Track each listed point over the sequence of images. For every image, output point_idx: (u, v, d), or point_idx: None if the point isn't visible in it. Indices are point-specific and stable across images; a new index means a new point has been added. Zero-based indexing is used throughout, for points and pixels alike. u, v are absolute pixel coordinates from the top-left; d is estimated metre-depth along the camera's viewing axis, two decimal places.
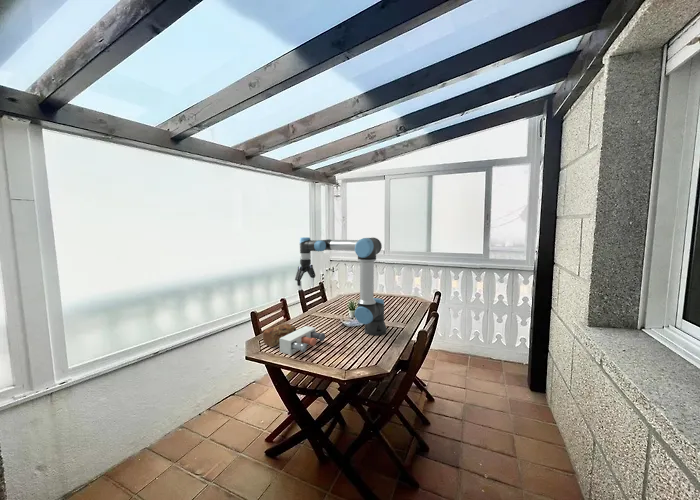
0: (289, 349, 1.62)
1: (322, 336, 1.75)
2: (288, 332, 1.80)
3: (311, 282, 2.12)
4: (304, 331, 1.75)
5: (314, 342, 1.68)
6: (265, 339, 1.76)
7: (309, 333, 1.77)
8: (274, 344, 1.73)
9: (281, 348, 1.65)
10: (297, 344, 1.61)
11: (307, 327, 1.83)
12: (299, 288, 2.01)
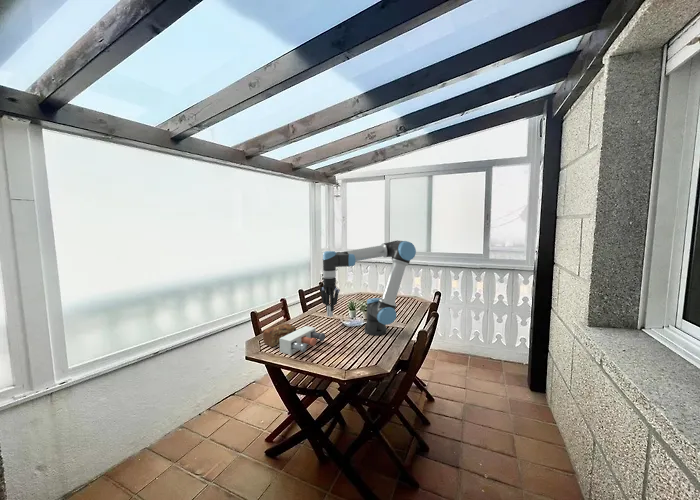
0: (289, 349, 1.62)
1: (322, 336, 1.75)
2: (288, 332, 1.80)
3: None
4: (304, 331, 1.75)
5: (314, 342, 1.68)
6: (265, 339, 1.76)
7: (309, 333, 1.77)
8: (274, 344, 1.73)
9: (281, 348, 1.65)
10: (297, 344, 1.61)
11: (307, 327, 1.83)
12: None
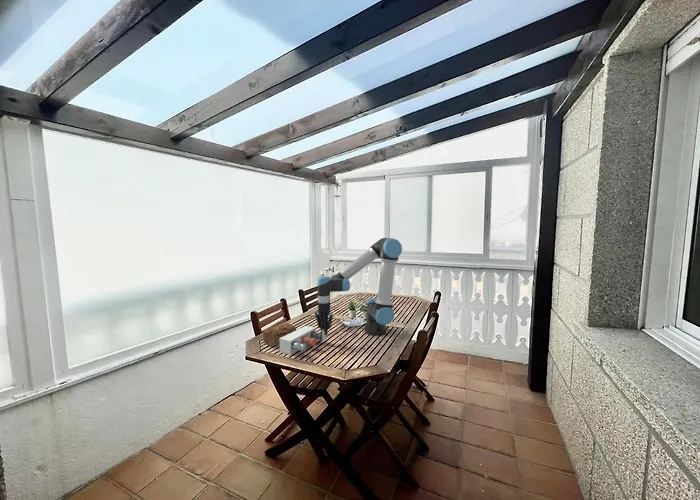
0: (289, 349, 1.62)
1: (321, 336, 1.76)
2: (288, 332, 1.80)
3: None
4: (304, 331, 1.75)
5: (314, 342, 1.68)
6: (265, 339, 1.76)
7: (309, 333, 1.77)
8: (274, 344, 1.73)
9: (281, 348, 1.65)
10: (297, 344, 1.61)
11: (307, 327, 1.83)
12: None
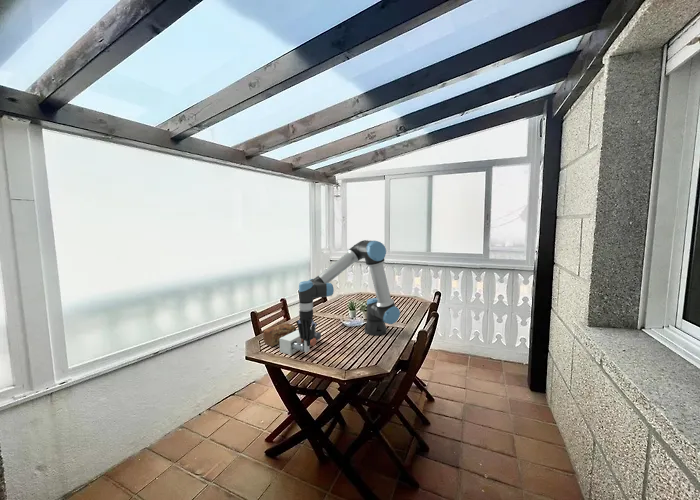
0: (289, 349, 1.62)
1: (318, 335, 1.77)
2: (288, 332, 1.81)
3: None
4: None
5: (314, 342, 1.68)
6: (265, 339, 1.77)
7: None
8: (274, 343, 1.74)
9: (281, 348, 1.65)
10: (297, 344, 1.62)
11: None
12: None
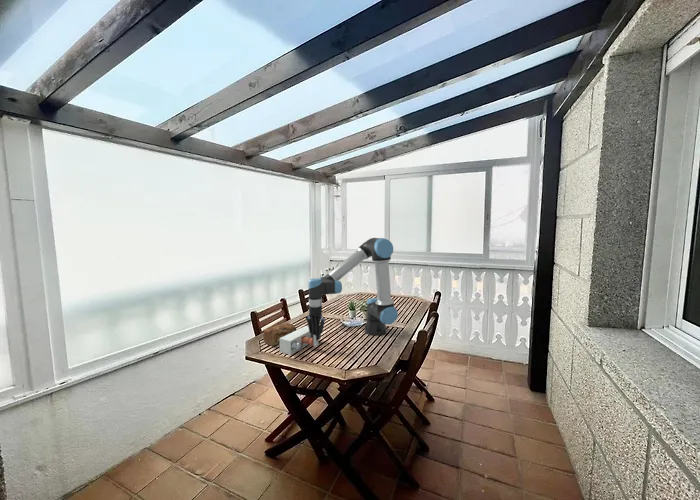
0: (289, 349, 1.62)
1: None
2: (288, 331, 1.81)
3: None
4: (304, 331, 1.75)
5: (313, 342, 1.69)
6: (265, 338, 1.77)
7: (309, 333, 1.77)
8: (274, 343, 1.74)
9: (281, 348, 1.65)
10: (293, 343, 1.63)
11: (307, 327, 1.83)
12: None
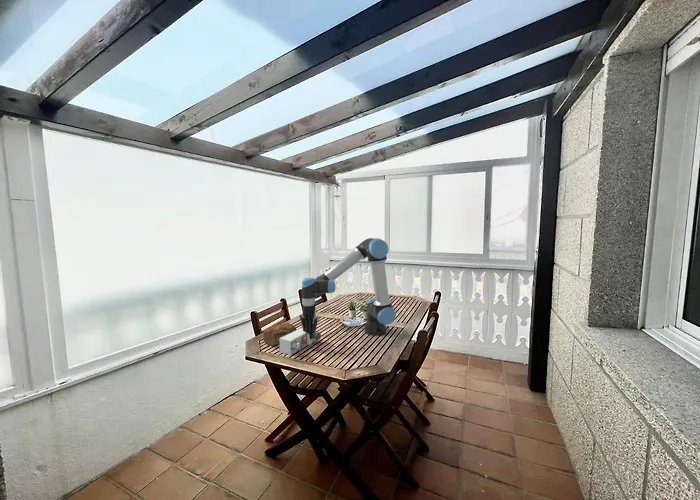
0: (289, 349, 1.62)
1: (318, 335, 1.77)
2: (288, 331, 1.81)
3: None
4: None
5: None
6: (265, 338, 1.77)
7: None
8: (274, 343, 1.74)
9: (281, 348, 1.65)
10: (293, 343, 1.63)
11: None
12: None
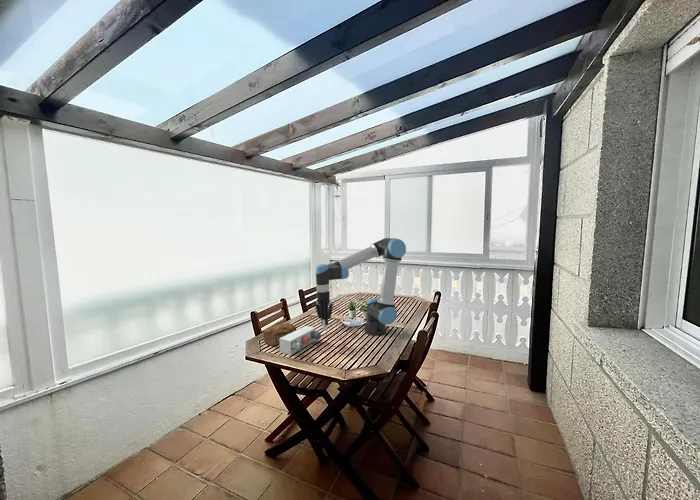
0: (289, 349, 1.62)
1: (318, 335, 1.77)
2: (288, 331, 1.81)
3: None
4: (304, 331, 1.75)
5: (307, 340, 1.71)
6: (265, 338, 1.77)
7: (309, 333, 1.77)
8: (274, 343, 1.74)
9: (281, 348, 1.65)
10: (293, 343, 1.63)
11: (307, 327, 1.83)
12: None
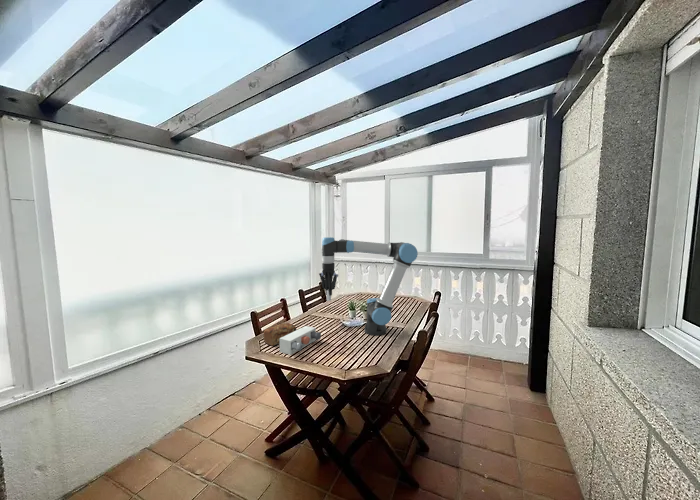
0: (289, 349, 1.62)
1: (318, 335, 1.77)
2: (288, 331, 1.81)
3: None
4: (304, 331, 1.75)
5: (307, 340, 1.71)
6: (265, 338, 1.77)
7: (309, 333, 1.77)
8: (274, 343, 1.74)
9: (281, 348, 1.65)
10: (293, 343, 1.63)
11: (307, 327, 1.83)
12: None
